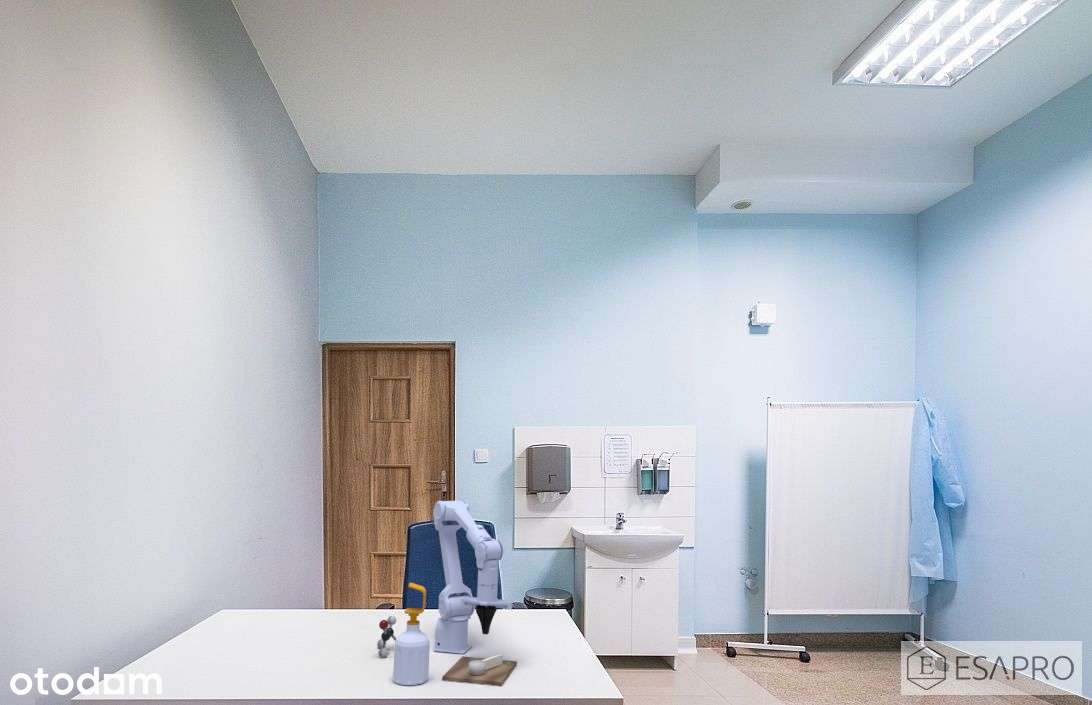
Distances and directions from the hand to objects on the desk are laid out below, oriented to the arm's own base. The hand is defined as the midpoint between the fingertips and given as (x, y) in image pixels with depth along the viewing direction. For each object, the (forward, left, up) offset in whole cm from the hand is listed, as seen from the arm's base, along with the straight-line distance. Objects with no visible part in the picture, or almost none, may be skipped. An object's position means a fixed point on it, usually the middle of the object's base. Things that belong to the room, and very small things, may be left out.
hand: (485, 633), depth 205 cm
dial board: (+1, -6, -9) cm, 11 cm away
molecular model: (-30, +3, -9) cm, 32 cm away
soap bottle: (-15, -17, -9) cm, 25 cm away
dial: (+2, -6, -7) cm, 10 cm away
